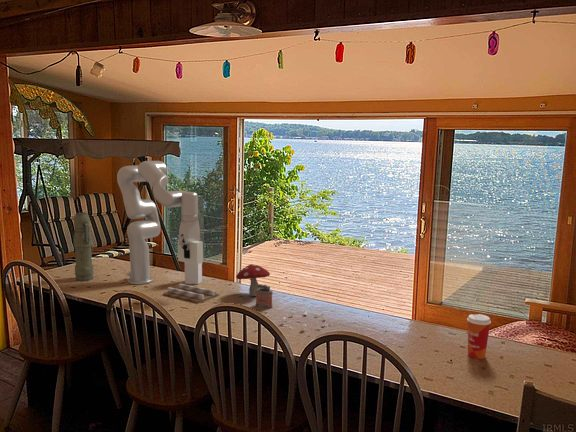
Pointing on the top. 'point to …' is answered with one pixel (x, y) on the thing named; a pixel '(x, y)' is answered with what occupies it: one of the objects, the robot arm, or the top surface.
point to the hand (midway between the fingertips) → (190, 256)
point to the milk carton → (193, 273)
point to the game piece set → (304, 324)
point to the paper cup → (478, 335)
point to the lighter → (264, 296)
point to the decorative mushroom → (252, 276)
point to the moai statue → (83, 247)
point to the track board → (190, 293)
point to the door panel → (192, 253)
